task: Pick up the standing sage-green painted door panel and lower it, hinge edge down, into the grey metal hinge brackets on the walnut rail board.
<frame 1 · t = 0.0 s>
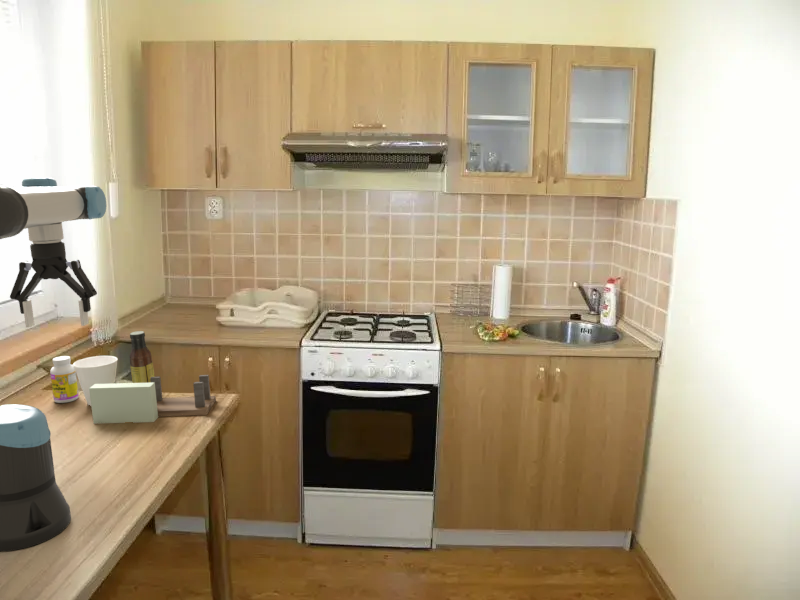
hand: (57, 325, 165), 28 cm above the table, fingers open, 13 cm apart
sauce bottle: (145, 397, 195), on the table
supplement bottle: (66, 400, 194), on the table
door panel: (126, 420, 177), on the table
cup: (100, 402, 191), on the table
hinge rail: (179, 408, 184), on the table
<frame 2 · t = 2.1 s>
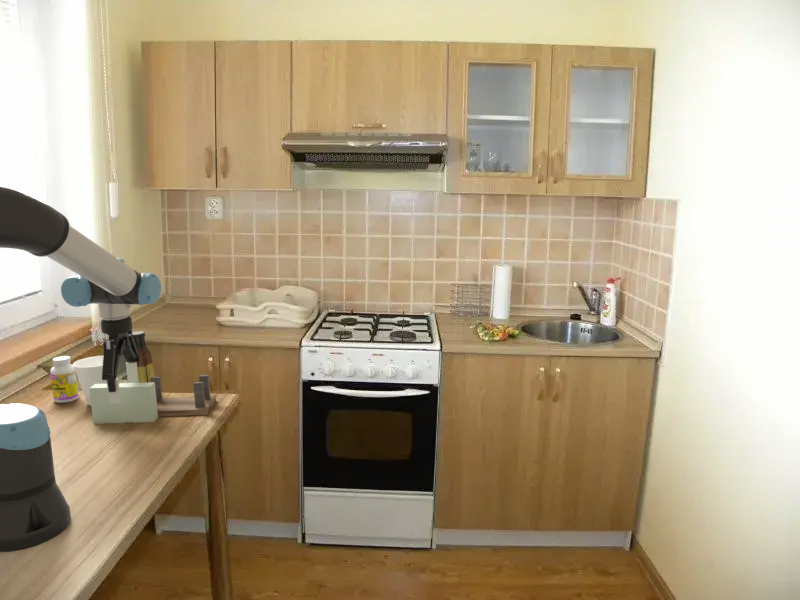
hand: (124, 393, 176), 7 cm above the table, fingers open, 13 cm apart
nothing on the table moved.
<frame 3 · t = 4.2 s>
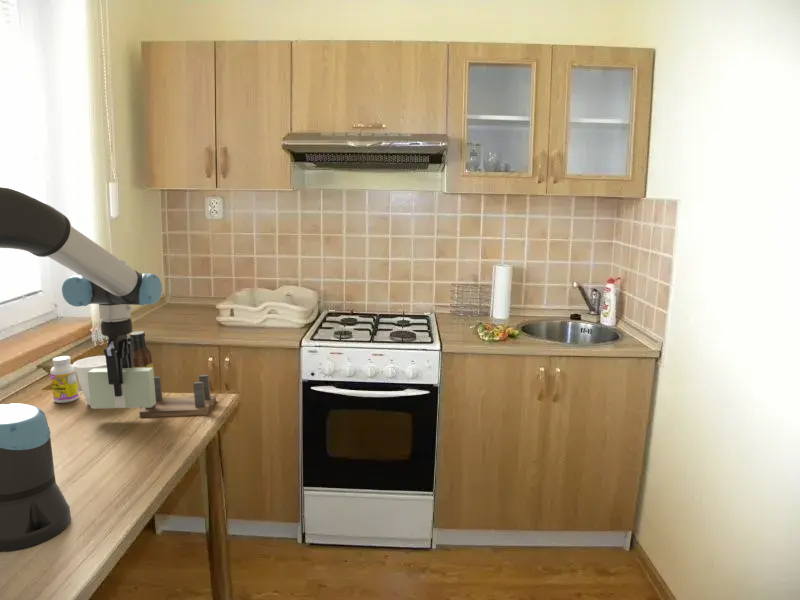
hand: (123, 404, 176), 5 cm above the table, fingers closed on door panel, 4 cm apart
door panel: (123, 405, 176), point 4 cm above the table, touching gripper
everything else where it was.
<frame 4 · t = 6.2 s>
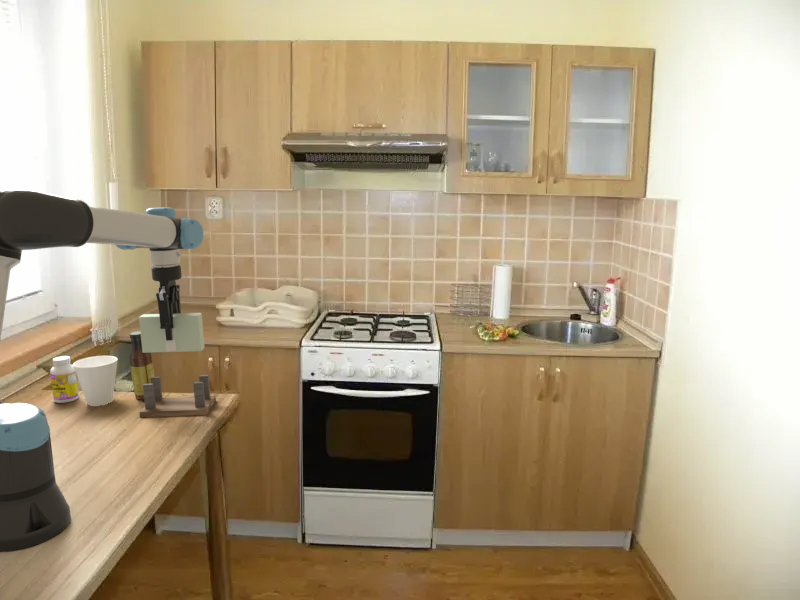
hand: (173, 348, 181), 17 cm above the table, fingers closed on door panel, 4 cm apart
door panel: (173, 350, 181), point 17 cm above the table, touching gripper
everything else where it was.
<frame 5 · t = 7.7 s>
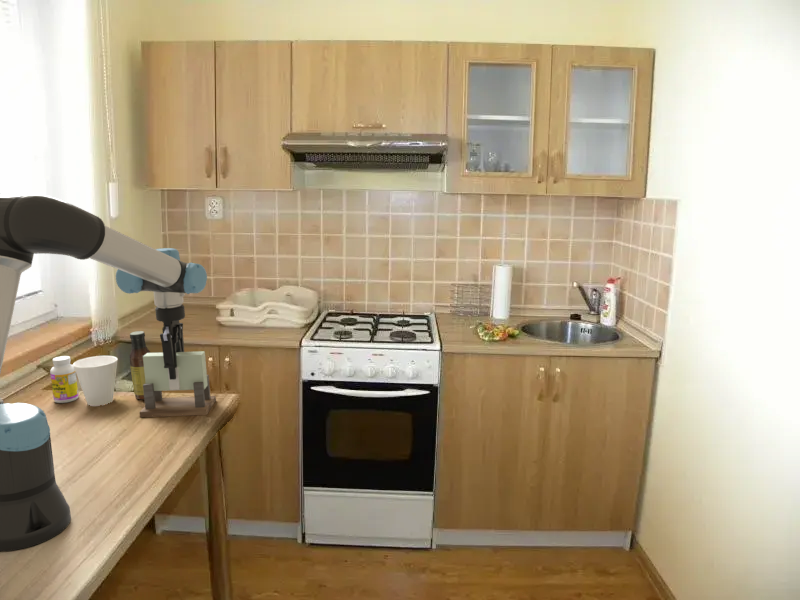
hand: (177, 386, 183), 6 cm above the table, fingers closed on door panel, 4 cm apart
door panel: (177, 388, 183), point 6 cm above the table, touching gripper
everything else where it was.
when the fingers open (3 cm above the table, at t = 8.6 s): door panel stays where it is, resting on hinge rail.
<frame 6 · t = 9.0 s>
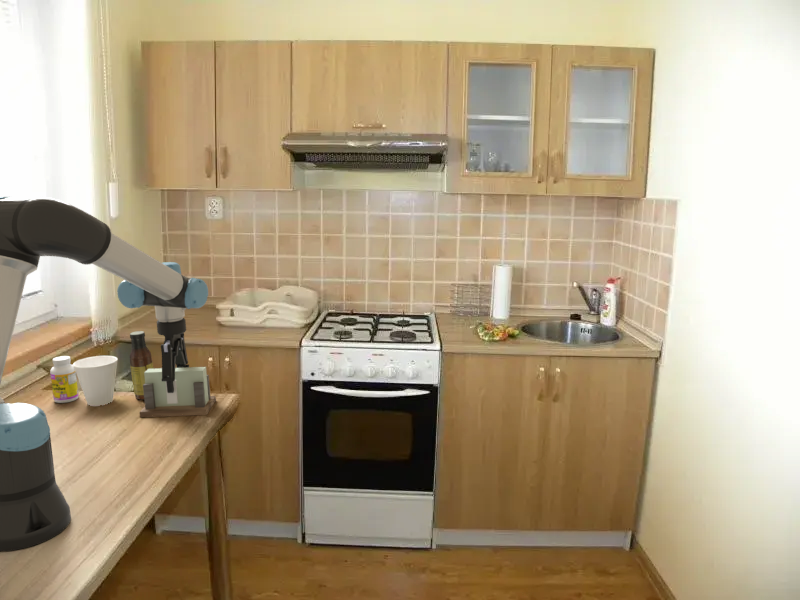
hand: (178, 396, 184), 4 cm above the table, fingers open, 9 cm apart
door panel: (178, 403, 184), point 1 cm above the table, touching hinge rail
everything else where it was.
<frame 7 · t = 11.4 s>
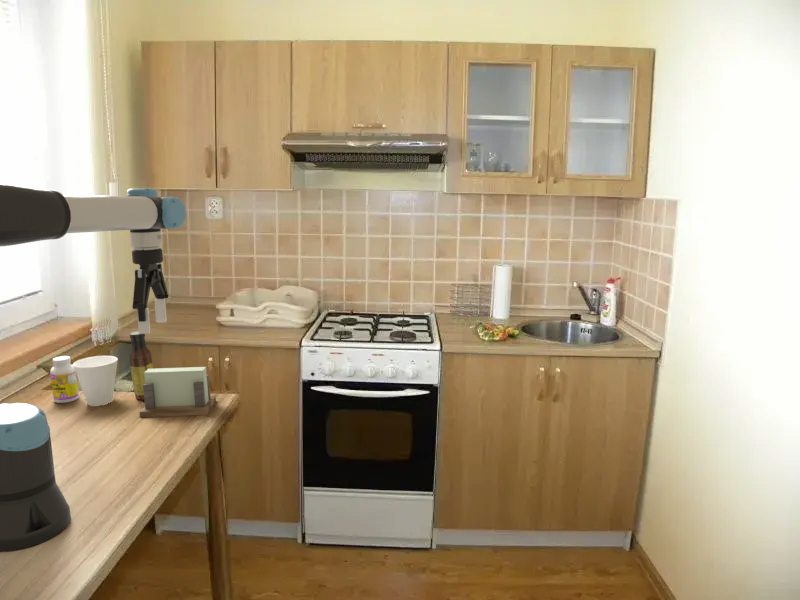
hand: (153, 327, 175), 25 cm above the table, fingers open, 13 cm apart
nothing on the table moved.
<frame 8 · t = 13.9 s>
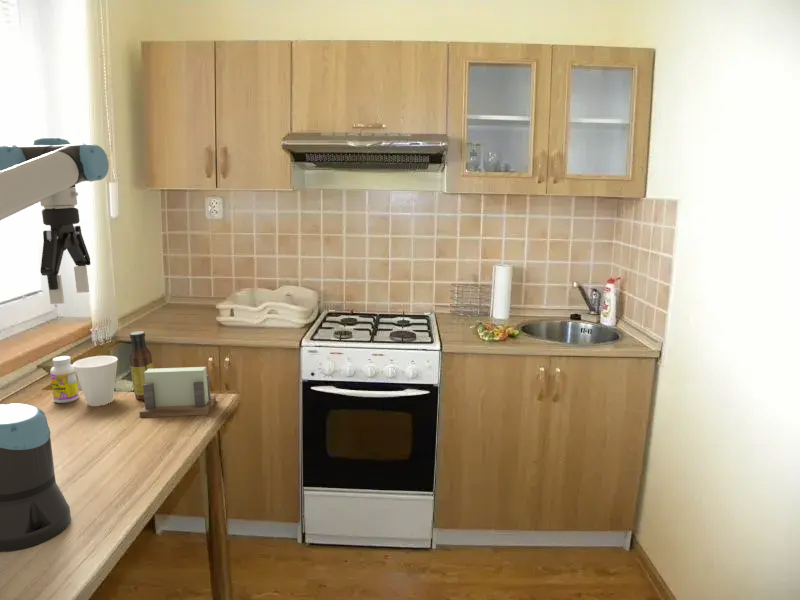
hand: (70, 297, 155), 37 cm above the table, fingers open, 13 cm apart
nothing on the table moved.
at the end: door panel 0.1 cm off-centre on the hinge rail, point 1.5 cm above the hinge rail's base; door panel tilted 0°; the gripper is holding nothing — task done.
